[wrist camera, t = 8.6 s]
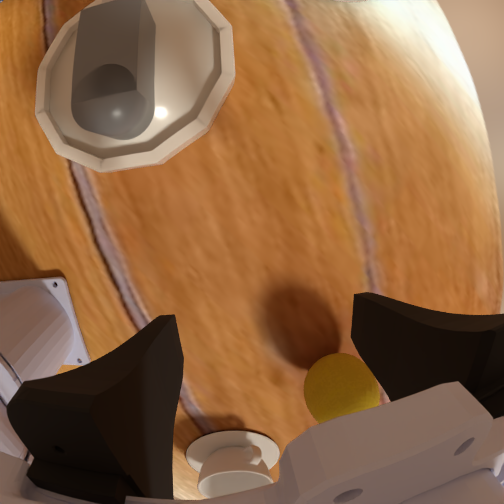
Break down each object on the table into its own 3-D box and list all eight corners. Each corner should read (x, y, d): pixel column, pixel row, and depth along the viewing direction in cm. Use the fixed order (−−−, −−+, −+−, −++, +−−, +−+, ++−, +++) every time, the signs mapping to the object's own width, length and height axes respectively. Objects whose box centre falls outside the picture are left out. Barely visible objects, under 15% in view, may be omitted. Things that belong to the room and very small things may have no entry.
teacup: (252, 482, 29) (257, 511, 24) (174, 465, 27) (171, 496, 22) (296, 437, 27) (306, 470, 22) (206, 416, 25) (206, 453, 20)
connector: (101, 144, 17) (70, 138, 13) (107, 13, 14) (86, -15, 10) (155, 135, 17) (137, 125, 13) (157, 2, 14) (145, -31, 10)
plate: (51, 184, 18) (37, 186, 16) (57, 23, 14) (46, 14, 12) (239, 156, 19) (241, 154, 17) (227, -13, 16) (228, -27, 14)
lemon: (282, 359, 24) (306, 429, 16) (340, 323, 23) (384, 382, 16) (311, 396, 25) (337, 460, 17) (362, 364, 25) (403, 421, 17)
